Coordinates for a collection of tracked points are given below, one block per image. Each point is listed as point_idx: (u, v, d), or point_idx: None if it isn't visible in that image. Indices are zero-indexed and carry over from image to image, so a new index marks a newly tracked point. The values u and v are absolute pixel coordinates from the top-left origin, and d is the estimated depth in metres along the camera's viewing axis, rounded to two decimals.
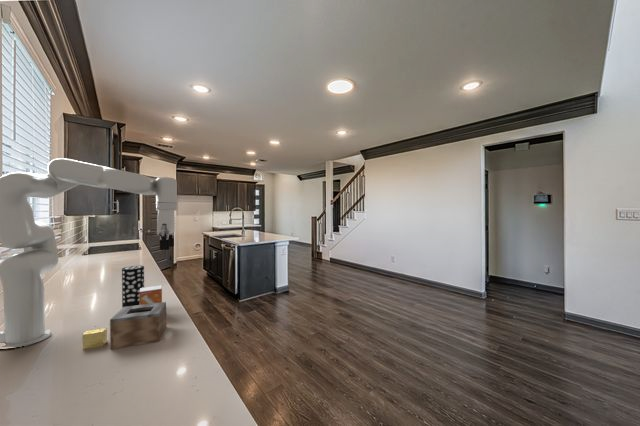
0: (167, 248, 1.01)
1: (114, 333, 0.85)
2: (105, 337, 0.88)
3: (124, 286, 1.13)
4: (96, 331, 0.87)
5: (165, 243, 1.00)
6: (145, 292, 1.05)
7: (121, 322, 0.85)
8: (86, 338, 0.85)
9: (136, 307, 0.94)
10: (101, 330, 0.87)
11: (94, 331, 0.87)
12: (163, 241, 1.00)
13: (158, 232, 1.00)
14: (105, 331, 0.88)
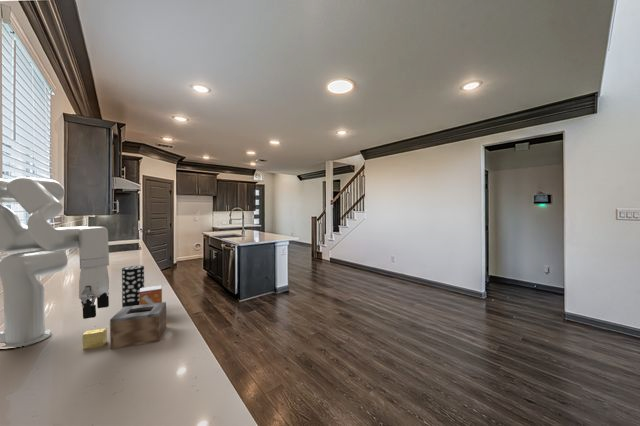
0: (93, 315, 0.82)
1: (114, 333, 0.85)
2: (105, 337, 0.88)
3: (124, 286, 1.13)
4: (96, 331, 0.87)
5: (89, 310, 0.81)
6: (145, 292, 1.05)
7: (121, 322, 0.85)
8: (86, 338, 0.85)
9: (136, 307, 0.94)
10: (101, 330, 0.87)
11: (94, 331, 0.87)
12: (87, 308, 0.81)
13: None
14: (105, 331, 0.88)
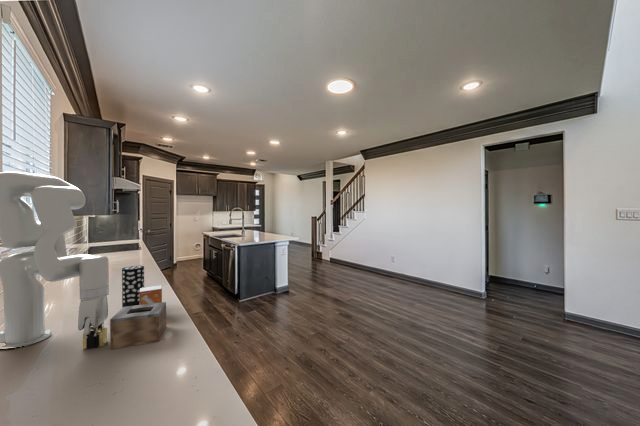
0: (96, 346, 0.85)
1: (114, 333, 0.85)
2: (105, 337, 0.88)
3: (124, 286, 1.13)
4: None
5: (93, 341, 0.85)
6: (145, 292, 1.05)
7: (121, 322, 0.85)
8: None
9: (136, 307, 0.94)
10: (101, 330, 0.87)
11: None
12: (90, 338, 0.84)
13: (79, 328, 0.82)
14: (105, 331, 0.88)
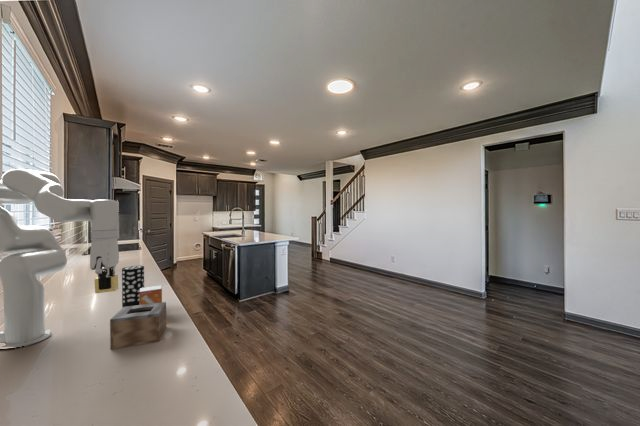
0: (108, 287, 0.86)
1: (114, 333, 0.85)
2: (116, 283, 0.89)
3: (124, 286, 1.13)
4: None
5: (105, 282, 0.86)
6: (145, 292, 1.05)
7: (121, 322, 0.85)
8: (98, 282, 0.86)
9: (136, 307, 0.94)
10: (112, 276, 0.88)
11: None
12: (102, 279, 0.85)
13: (91, 267, 0.83)
14: (116, 277, 0.89)
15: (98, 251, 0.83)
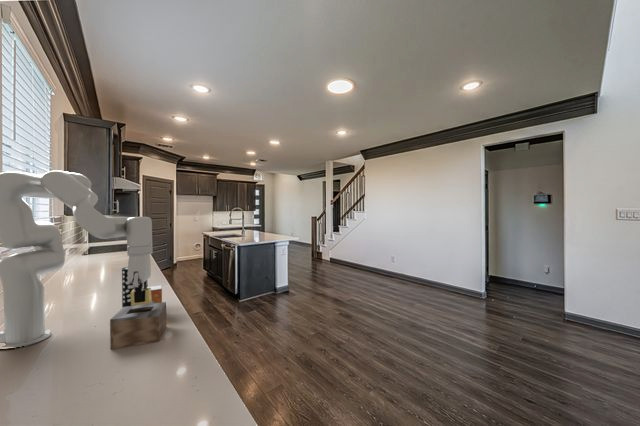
0: (143, 300, 0.91)
1: (114, 333, 0.85)
2: (150, 296, 0.94)
3: (124, 286, 1.13)
4: None
5: (140, 295, 0.90)
6: None
7: (121, 322, 0.85)
8: None
9: (136, 307, 0.94)
10: (146, 289, 0.93)
11: None
12: (138, 293, 0.90)
13: (129, 282, 0.87)
14: (150, 290, 0.94)
15: (135, 266, 0.88)
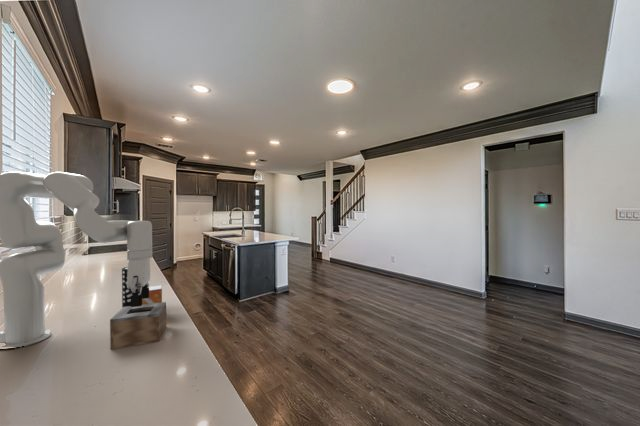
0: (139, 304, 0.88)
1: (114, 333, 0.85)
2: None
3: (124, 286, 1.13)
4: None
5: (137, 299, 0.88)
6: None
7: (121, 322, 0.85)
8: None
9: (136, 307, 0.94)
10: None
11: None
12: (134, 297, 0.87)
13: (128, 286, 0.87)
14: None
15: (135, 271, 0.88)
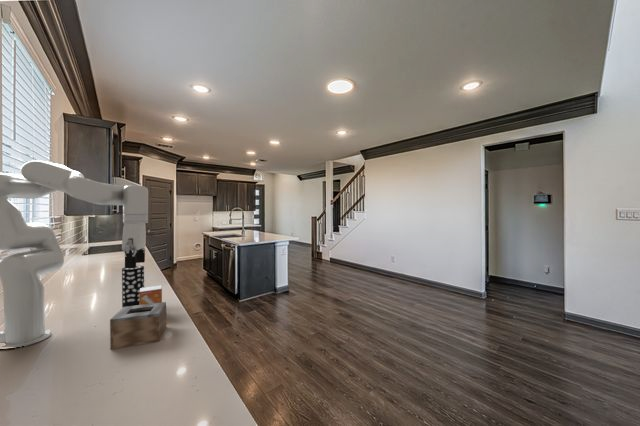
0: (133, 266, 0.89)
1: (114, 333, 0.85)
2: None
3: (124, 286, 1.13)
4: None
5: (131, 260, 0.88)
6: (145, 292, 1.05)
7: (121, 322, 0.85)
8: None
9: (136, 307, 0.94)
10: None
11: None
12: (128, 258, 0.88)
13: (123, 248, 0.88)
14: None
15: (130, 233, 0.89)
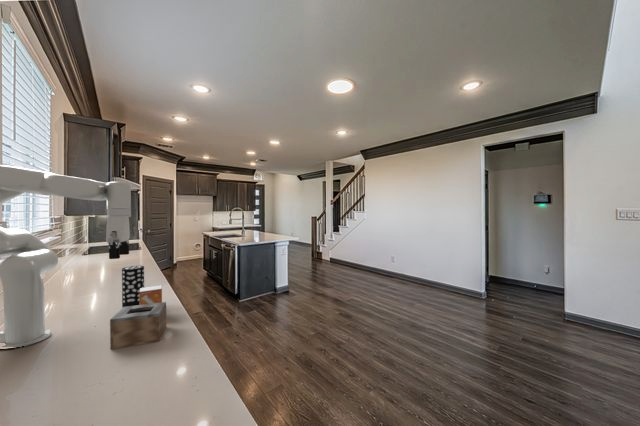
0: (117, 257, 0.95)
1: (114, 333, 0.85)
2: None
3: (124, 286, 1.13)
4: None
5: (115, 252, 0.95)
6: (145, 292, 1.05)
7: (121, 322, 0.85)
8: None
9: (136, 307, 0.94)
10: None
11: None
12: (112, 249, 0.94)
13: (107, 240, 0.94)
14: None
15: (113, 226, 0.95)
